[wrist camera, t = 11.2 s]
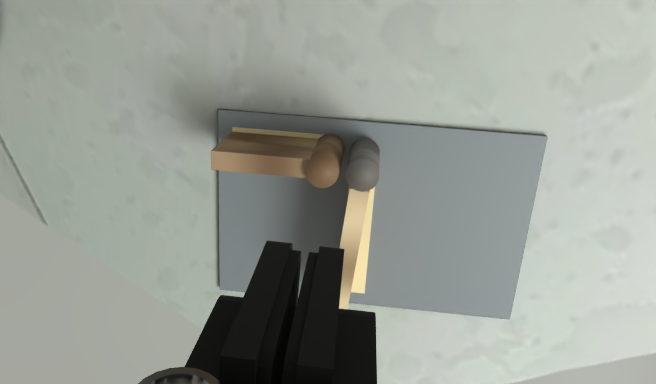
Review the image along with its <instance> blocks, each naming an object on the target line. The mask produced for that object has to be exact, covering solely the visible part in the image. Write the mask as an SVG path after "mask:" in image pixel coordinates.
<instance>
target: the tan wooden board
mask: <svg viewBox="0 0 656 384" xmlns="http://www.w3.org/2000/svg"><path fill="white" fill-rule="evenodd" d="M379 166H380V150H379V147H378V145H377V144H376V142H374V141H373V140H371V139H368V138H361V139H358V140H357V141H355V142H354V143H353V144H352V146H351V149H350V154H349V158H348V163H347V168H346V173H345V177H346V181H347V183H348V185H349V186H350V189H349V195H348V201H347V206H346V212H345V218H344V224H343V230H342V235H341V241H340V247H339V248H341V249H344V260H343V271H342V281H341V292H340V303H339V308H340V309H348V304H349V299H350V294H351V288H352V283H353V278H354V272H355V267H356V262H357V256H358V251H359V245H360V240H361V235H362V229H363V224H364V219H365V213H366V208H367V203H368V197H369V192H370V190H371V189H373V188H374V187H375V186H376V185H377V183H378V181H379Z"/></svg>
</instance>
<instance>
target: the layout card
mask: <svg viewBox="0 0 656 384" xmlns="http://www.w3.org/2000/svg"><path fill="white" fill-rule="evenodd" d="M231 132H243V133H255V134H267V135H279V136H291V137H303V138H315V139H319V138H320V137H321V136H323V135H325V134H335V135H337V136H338V137H340V138H341V139H342V141H343V143H344V147H345V150H344V154H343V158H342V163H341V167H340V171H339V175H338V178H337V180H336V182H335V183H334V184H333V185H331V186H330V187H327V188H318V187H315V186H313V185H312V184H311V183H310V182H309V181H308V180H307V178H299V177H287V176H276V175H265V174H254V173H242V172H231V171H220V170H219V268H220V290H229V291H239V292H246V290H247V288H248V285H249V283H250V280H251V278H252V275H253V273H254V270H255V268H256V266H257V263H258V261H259V258H260V256H261V253H262V251H263V248H264V246H265V244H266V241H267V240H268V241H277V242H286V243H292V245H293V250H298V251H301V267H300V280H299V293H300V289H301V284H302V280H303V275H304V271H305V267H306V262H307V258H308V254H309V252H316V253H318V252H319V247H320V246H323V247H332V248H339V247H340V241H341V235H342V230H343V224H344V218H345V212H346V206H347V201H348V195H349V189H350V186H349V185H348V183H347V181H346V177H345V173H346V168H347V163H348V158H349V154H350V149H351V146H352V144H353V143H354V142H355V141H357V140H358V139H361V138H368V139H371V140H373V141H374V142H376V144H377V145H378V147H379V150H380V166H379V181H378V183H377V185H376V186H375V187H374V188H373V189H371V190H370V192H369V197H368V203H367V208H366V213H365V219H364V224H363V229H362V235H361V240H360V245H359V251H358V256H357V262H356V267H355V272H354V278H353V283H352V288H351V294H350V299H349V303H355V304H365V305H374V306H384V307H394V308H403V309H413V310H423V311H432V312H442V313H452V314H461V315H471V316H481V317H490V318H500V319H510V316H511V311H512V306H513V301H514V296H515V292H516V287H517V282H518V277H519V272H520V267H521V263H522V258H523V253H524V248H525V243H526V238H527V234H528V229H529V224H530V219H531V214H532V209H533V205H534V200H535V195H536V190H537V185H538V180H539V176H540V171H541V166H542V161H543V156H544V151H545V147H546V142H547V136H545V135H533V134H520V133H508V132H496V131H483V130H471V129H458V128H446V127H434V126H421V125H409V124H397V123H384V122H372V121H360V120H347V119H335V118H323V117H310V116H298V115H285V114H273V113H261V112H248V111H236V110H224V109H219V110H218V144H219V143H220V142H221V141H222V140H224V139H225V138H226V137H227V136H228V135H229V134H230V133H231ZM299 293H298V297H299Z"/></svg>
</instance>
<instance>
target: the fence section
mask: <svg viewBox="0 0 656 384" xmlns="http://www.w3.org/2000/svg"><path fill="white" fill-rule="evenodd" d="M344 150H345V147H344V143H343V141H342V139H341V138H340V137H338V136H337V135H335V134H325V135H323V136H321V137H320V138H319V139H315V138H303V137H291V136H279V135H267V134H255V133H243V132H231V133H230V134H229V135H228V136H227V137H226V138H225V139H224V140H222V141H221V142H220V143H219V144H218V145H217V146H216V147H215V148H214V149H213V150H212V151H211V170H220V171H231V172H242V173H254V174H265V175H276V176H287V177H299V178H307V180H308V181H309V182H310V183H311V184H312V185H313V186H315V187H318V188H327V187H330V186H331V185H333V184H334V183H335V182H336V180H337V178H338V175H339V171H340V167H341V163H342V158H343V154H344Z"/></svg>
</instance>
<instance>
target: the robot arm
mask: <svg viewBox="0 0 656 384" xmlns="http://www.w3.org/2000/svg"><path fill="white" fill-rule="evenodd" d="M343 260H344V249H341V248H332V247H323V246H320V247H319V252H318V253H316V252H309V254H308V258H307V262H306V267H305V271H304V275H303V280H302V284H301V289H300V293H299V280H300V267H301V251H298V250H293V245H292V243H286V242H277V241H268V240H267V241H266V244H265V246H264V248H263V251H262V253H261V256H260V258H259V261H258V263H257V266H256V268H255V270H254V273H253V275H252V278H251V280H250V283H249V285H248V288H247V290H246V293H245V295H244V297H234V296H225V295H221V296H220V297H219V298H218V300H217V302H216V304H215V306H214V308H213V310H212V312H211V314H210V316H209V318H208V320H207V322H206V324H205V326H204V329H203V331H202V333H201V335H200V337H199V339H198V341H197V343H196V345H195V347H194V349H193V351H192V353H191V355H190V357H189V359H188V361H187V363H186V365H185V367H179V368H169V369H166V370H162V371H159V372H156V373H154V374H152V375H150V376H148V377H146V378H144V379H143V380H142V381H141V382H140V383H138V384H377V365H376V317H375V312H366V311H357V310H348V309H340V308H339V303H340V292H341V281H342V271H343ZM298 293H299V297H298Z"/></svg>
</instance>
